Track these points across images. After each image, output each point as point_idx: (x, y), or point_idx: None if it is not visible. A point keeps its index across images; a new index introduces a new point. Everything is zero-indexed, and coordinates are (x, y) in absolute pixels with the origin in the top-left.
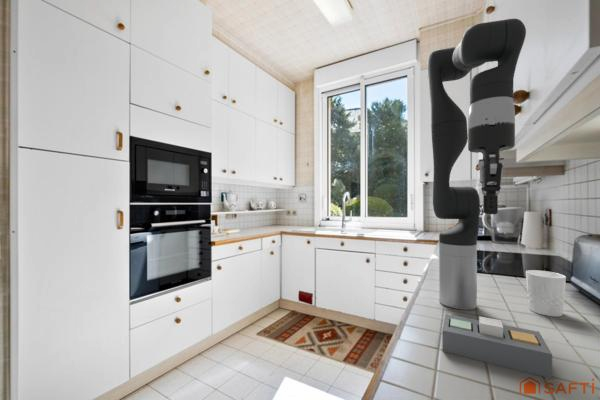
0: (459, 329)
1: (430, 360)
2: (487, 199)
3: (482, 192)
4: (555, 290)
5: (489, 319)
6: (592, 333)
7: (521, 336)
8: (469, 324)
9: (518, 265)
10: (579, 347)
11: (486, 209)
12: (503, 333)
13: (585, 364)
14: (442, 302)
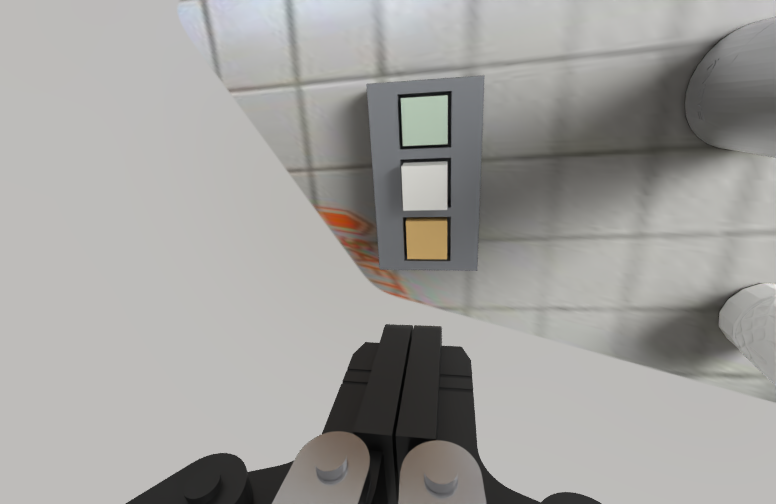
0: (394, 120)
1: (323, 69)
2: (332, 413)
3: (329, 446)
4: (767, 370)
5: (438, 186)
6: (627, 359)
7: (422, 236)
8: (430, 141)
9: None
10: (537, 318)
11: (369, 349)
12: None
13: (466, 307)
14: (728, 36)
